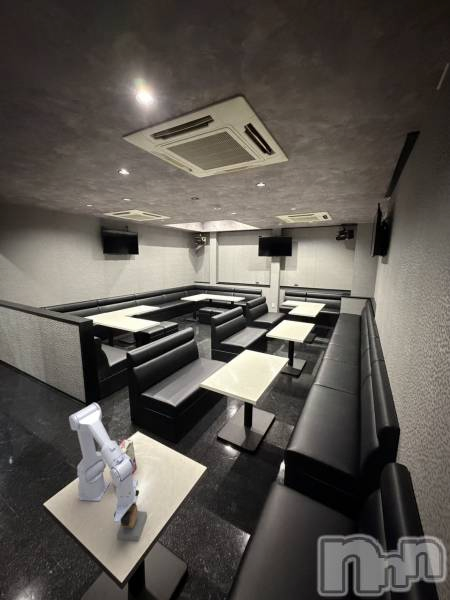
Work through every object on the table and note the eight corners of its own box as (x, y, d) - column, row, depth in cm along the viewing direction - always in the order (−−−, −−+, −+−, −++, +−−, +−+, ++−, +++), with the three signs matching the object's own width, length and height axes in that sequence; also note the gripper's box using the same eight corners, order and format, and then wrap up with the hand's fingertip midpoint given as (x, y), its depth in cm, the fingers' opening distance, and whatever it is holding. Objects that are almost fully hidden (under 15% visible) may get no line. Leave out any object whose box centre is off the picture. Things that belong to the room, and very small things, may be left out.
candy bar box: (127, 466, 117) (124, 438, 113) (137, 467, 116) (133, 440, 112) (113, 488, 106) (108, 458, 102) (123, 490, 105) (118, 460, 101)
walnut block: (121, 527, 88) (119, 517, 87) (127, 513, 93) (125, 503, 91) (132, 528, 88) (131, 517, 87) (138, 514, 92) (136, 504, 91)
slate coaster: (117, 540, 88) (116, 534, 87) (128, 516, 96) (127, 510, 95) (138, 541, 87) (137, 535, 87) (147, 517, 95) (146, 511, 94)
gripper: (125, 511, 79) (130, 541, 82) (143, 471, 93) (147, 497, 96) (105, 510, 80) (111, 539, 83) (126, 470, 94) (130, 496, 97)
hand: (129, 517), depth 90 cm, fingers closed on walnut block, 4 cm apart
